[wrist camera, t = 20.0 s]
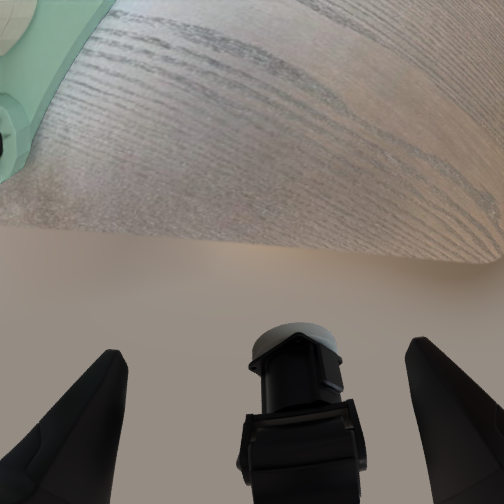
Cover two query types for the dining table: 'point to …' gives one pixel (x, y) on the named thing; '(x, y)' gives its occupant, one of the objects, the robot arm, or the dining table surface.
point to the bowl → (14, 21)
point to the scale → (40, 71)
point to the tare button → (1, 144)
